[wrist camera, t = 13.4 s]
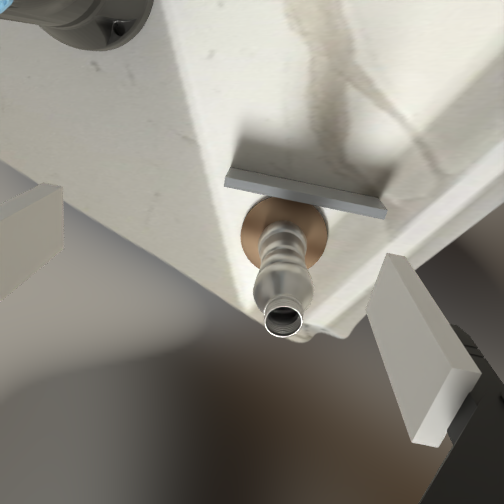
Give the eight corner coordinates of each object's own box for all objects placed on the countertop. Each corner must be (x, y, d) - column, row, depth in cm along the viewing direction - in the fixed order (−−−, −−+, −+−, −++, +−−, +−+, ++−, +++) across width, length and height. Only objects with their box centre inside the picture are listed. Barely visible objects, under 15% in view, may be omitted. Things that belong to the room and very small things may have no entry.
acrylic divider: (230, 167, 51) (225, 176, 47) (378, 197, 52) (387, 210, 47) (228, 176, 52) (223, 186, 47) (375, 206, 52) (384, 219, 48)
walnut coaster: (249, 187, 52) (249, 188, 52) (337, 205, 53) (337, 206, 52) (234, 264, 58) (234, 266, 57) (314, 280, 58) (314, 283, 57)
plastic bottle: (249, 240, 55) (233, 324, 37) (281, 205, 53) (281, 278, 35) (283, 267, 57) (284, 361, 38) (316, 235, 54) (333, 319, 36)
